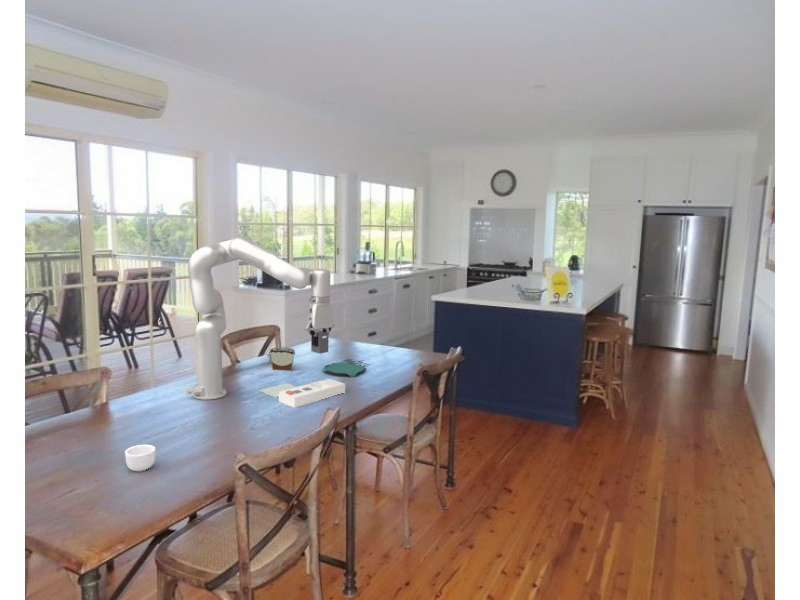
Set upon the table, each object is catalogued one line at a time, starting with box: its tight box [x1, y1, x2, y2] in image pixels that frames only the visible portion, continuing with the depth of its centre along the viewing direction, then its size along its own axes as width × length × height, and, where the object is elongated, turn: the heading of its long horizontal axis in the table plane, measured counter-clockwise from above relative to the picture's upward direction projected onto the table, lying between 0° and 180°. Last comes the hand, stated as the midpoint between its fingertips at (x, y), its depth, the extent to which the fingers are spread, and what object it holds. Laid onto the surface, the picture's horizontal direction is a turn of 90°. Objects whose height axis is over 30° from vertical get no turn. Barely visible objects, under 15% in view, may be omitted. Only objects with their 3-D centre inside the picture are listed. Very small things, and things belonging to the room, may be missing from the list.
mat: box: [259, 382, 297, 399], centre depth 227 cm, size 14×12×1 cm
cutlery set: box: [322, 357, 367, 377], centre depth 264 cm, size 20×30×2 cm, turn 160°
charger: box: [310, 329, 330, 355], centre depth 220 cm, size 4×6×8 cm
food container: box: [269, 346, 296, 372], centre depth 259 cm, size 12×6×10 cm, turn 84°
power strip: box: [278, 378, 346, 409], centre depth 220 cm, size 26×10×5 cm, turn 139°
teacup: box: [124, 444, 156, 472], centre depth 155 cm, size 10×8×5 cm
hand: (319, 344), depth 220 cm, fingers closed on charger, 4 cm apart
